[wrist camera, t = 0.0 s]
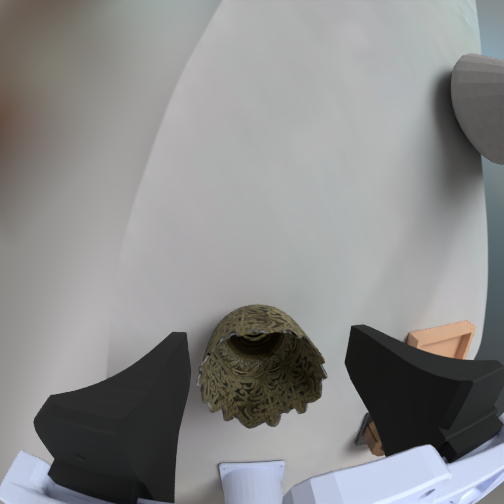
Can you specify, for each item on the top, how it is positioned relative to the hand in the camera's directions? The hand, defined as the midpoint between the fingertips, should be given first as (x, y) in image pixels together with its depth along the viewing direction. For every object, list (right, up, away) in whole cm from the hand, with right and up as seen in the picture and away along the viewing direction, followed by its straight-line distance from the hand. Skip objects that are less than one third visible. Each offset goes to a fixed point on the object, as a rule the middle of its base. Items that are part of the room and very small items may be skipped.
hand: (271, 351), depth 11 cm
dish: (+19, -8, +14) cm, 25 cm away
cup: (-1, -1, +11) cm, 11 cm away
